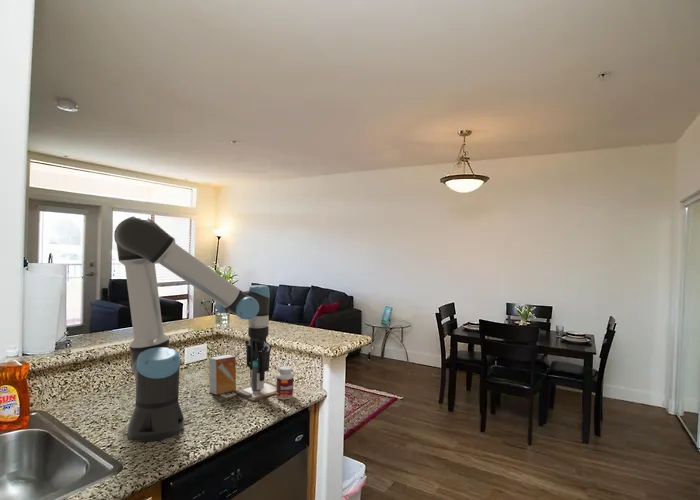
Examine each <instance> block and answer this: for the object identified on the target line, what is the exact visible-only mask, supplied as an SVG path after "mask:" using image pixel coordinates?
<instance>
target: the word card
mask: <svg viewBox="0 0 700 500" xmlns="http://www.w3.org/2000/svg"><path fill="white" fill-rule="evenodd" d="M218 395H219V396H221V397H223V398H226V399H227V398H230V397H234V396H238V395H237V394H236V393H234V392H232V391H230V392H226V393H221V394H218Z"/></svg>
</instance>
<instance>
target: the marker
mask: <svg viewBox="0 0 700 500" xmlns="http://www.w3.org/2000/svg"><path fill="white" fill-rule="evenodd" d="M257 371H258V359H257V360H254V361H253V370H252V391H253V394H260V393H261V390H262V389H260V390H257Z"/></svg>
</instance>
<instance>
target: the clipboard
mask: <svg viewBox="0 0 700 500" xmlns="http://www.w3.org/2000/svg"><path fill="white" fill-rule="evenodd" d="M276 388H277V384H274V383H271V382H269V381H266V380H264V388H263V389H262V390H261V393H260V394H253V391H252V388H251V387H250V385H247V386H245V387H242V388H238V389H236V390H235V391H232V392H234V393H236V394H237V395H236V396H239V397H240V398H243V399H245V400H248V401H250V402H252V403H254V402H257V401H261V400H262V399H266V398H269V397H272V396H276Z"/></svg>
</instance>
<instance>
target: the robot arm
mask: <svg viewBox="0 0 700 500" xmlns="http://www.w3.org/2000/svg"><path fill="white" fill-rule="evenodd" d="M114 242H115V244H116V250H117V258H118V262H119V263H121V264H122V265H123V266H124V268H125V269H124V270H125V276H126V286H127V293H128V301H129V308H130V316H131V317H130V318H131V324H132V331H133V340H132V341H131V342H130V343H129V350H130V367H131V368H130V369H131V371H132V373H133V376H134V378H135V405H134V406H135V407H134V409H133V412H132V415H131V417H130V420H129V423H128V425H127V426H128V427H127V436H128V438H129V439H131V440H133V441H137V442H155V441H160V440H164V439H168V438H170V437H173V436H174V435H175V436H176V435H177V434H179V433H180V432H181V431H182V430H183V429H184V426H185V425H184V424H185V419H184V413H183V412H182V407H181V406H180V403H179V396H180V395H179V392H180V367H181V358H180V354H179V352H178V350H176V349H174V348H171V345H170V344H171V343H170V338H169V335H166V334H165V333H164V329H163V319H162V313H161V312H162V311H161V304H160V303H161V302H160V296H159V288H158V286H159V285H158V277H157V270H156V269H157V268H156V264H160V265H161V266H162V267H163V268H165V269H167V270H168V271H170V272H171V273H173V274H174V275H176V276H177V277H179V278H180V279H182V280H183V281H185V282H186V283H187V284H189V285H191V286H192V287H193V288H195V289H197V290H198V291H200V292H201V293H203V294H204V295H205V296H206V297H209V298H210V299H212V301H213V300H214V301H215V309H216V312H217V313H219V314H227V313H228V314H229V313H230V314H232V315H235V316H236V317H238V318H239V319H241V320H248V324H247V325H248V331H247V336H248V338H249V340H245V341H244V342H245V343H244V344H245V347H246V350H245V352H246V353H245V354H246V359H245V360H246V367H248V368H249V370H250V371H249V377H250V384H249V386H250V387H251V388H252V370H253V361H254V360H258V371H257V390H260V389H263V388H264V382H265V376H266V375H265V374H266V373H265V372H269V370H270V360H271V359H270V357H271V350H272V345H268V343H267V342H268V340H267V338H268V336H269V330H270V329H269V328H270V327H269V322H270V320H269V317H270V316H269V315H270V298H271V295H270V288H269V286H268V285H263V284H255V285H250V286H249V288H248V290H246V291H242V290H241V289H240V288H238V287H237V286H236V285H234V284H233V283H232V282H230V281H229V280H227V279H226V278H224V277H223V276H221V275H220V274H219V273H217V272H216V271H215V270H213V269H212V268H210V267H209V266H207V265H206V264H205V263H204V262H202V261H201V260H200V259H198V258H196V257H195V256H193V254H191V253H189V252H188V251H187V250H185V249H184V248H182V247H181V246H180V245H179V244H177V243H176V238H174V237H173V236H171V235H170V234H168V232H167V231H165V230H164V229H162V227H161V226H160V225H159V224H157V223H156V221H154V220H153V219H150V218H149V217H146V216H145V215H133V216H131V217H127V218H125V219H124V220H122V221H121V222H119V223H118V225H117V226H116V228H115V231H114Z"/></svg>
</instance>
